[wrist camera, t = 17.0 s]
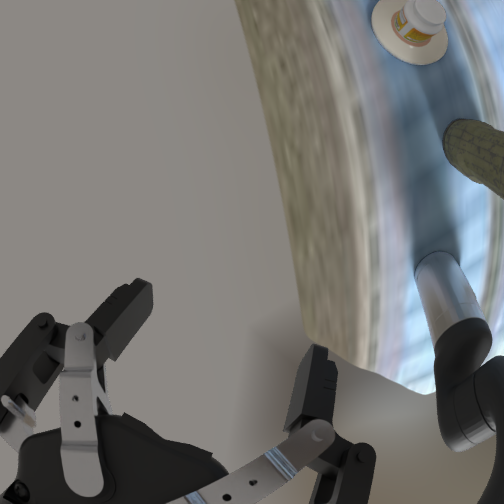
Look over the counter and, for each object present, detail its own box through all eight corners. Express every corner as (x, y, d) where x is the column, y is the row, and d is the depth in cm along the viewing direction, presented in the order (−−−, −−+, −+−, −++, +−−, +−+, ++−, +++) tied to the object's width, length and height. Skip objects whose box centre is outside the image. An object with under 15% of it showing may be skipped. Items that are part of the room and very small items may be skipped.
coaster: (448, 19, 20) (452, 17, 19) (437, 78, 27) (441, 77, 25) (377, -13, 21) (378, -17, 20) (364, 46, 28) (365, 44, 27)
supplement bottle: (434, 34, 22) (459, 19, 14) (412, 49, 25) (434, 36, 17) (409, 7, 21) (427, -15, 13) (386, 21, 24) (400, 0, 16)
